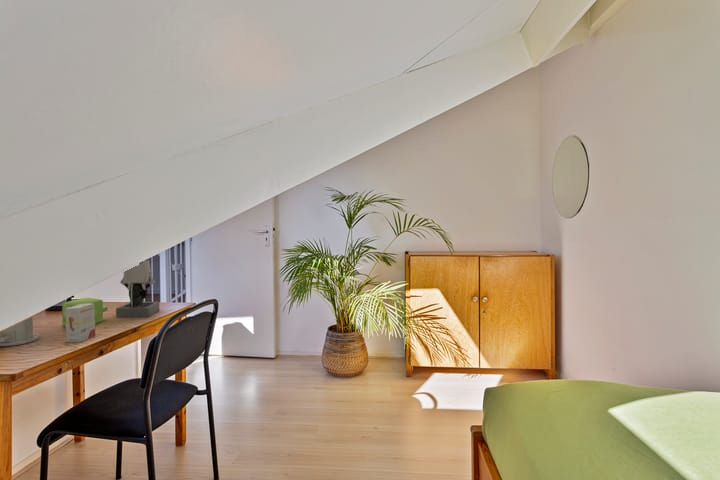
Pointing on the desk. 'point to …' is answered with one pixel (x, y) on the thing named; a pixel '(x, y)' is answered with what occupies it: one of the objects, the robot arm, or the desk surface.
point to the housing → (137, 310)
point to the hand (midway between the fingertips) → (138, 298)
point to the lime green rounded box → (97, 303)
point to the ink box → (80, 322)
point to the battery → (136, 295)
